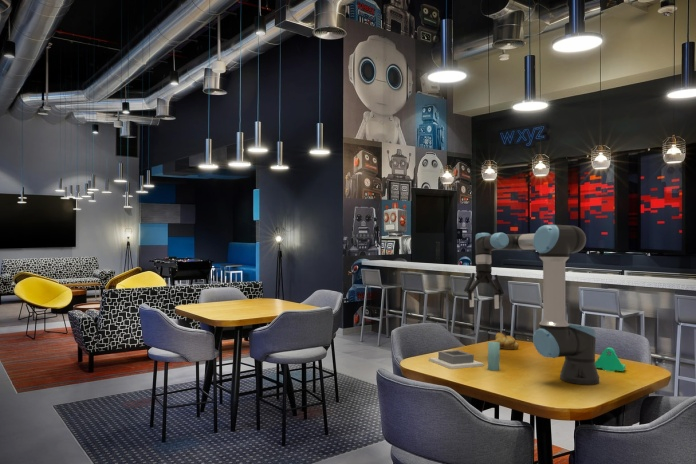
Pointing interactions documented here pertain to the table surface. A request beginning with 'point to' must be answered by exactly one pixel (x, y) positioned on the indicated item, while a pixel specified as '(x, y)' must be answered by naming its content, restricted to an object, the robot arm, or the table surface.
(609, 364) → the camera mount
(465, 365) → the dock
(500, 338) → the bread roll
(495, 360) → the peg
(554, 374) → the table surface
